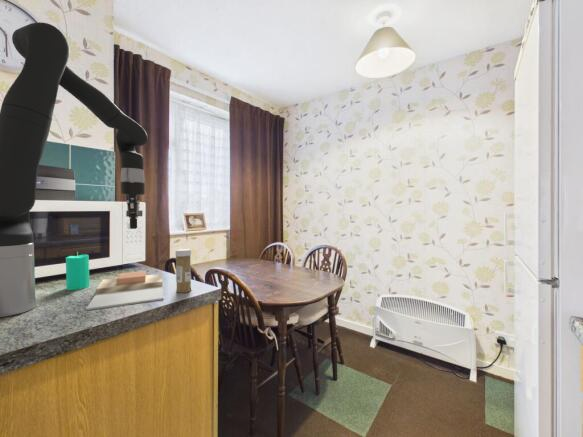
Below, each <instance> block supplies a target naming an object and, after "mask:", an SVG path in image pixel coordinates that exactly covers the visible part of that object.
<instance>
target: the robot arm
mask: <svg viewBox="0 0 583 437" xmlns="http://www.w3.org/2000/svg"><path fill="white" fill-rule="evenodd" d="M11 41H12V44H13V46H14V48H15V49H16V50H15V51H16V52H17V53H18V54H19V55H20V56H21V57H22V58H24V63H23V67H22V70H21V71H20V73H19V74H18V75H17V77H16V79H15V80H14V81H13V83H12V84H11V86H10V87H9V88H8V90H7V91H6V93H5V96H4V98H3V100H2V103H1V106H0V107H1V108H0V318H4V317H10V316H14V315H19V314H22V313H25V312H28V311H31V310H32V309H34V308H35V307H36V273H35V272H36V271H35V244H34V240H35V239H34V238H35V237H34V232H33V230H32V226H31V217H30V216H31V215H30V211H31V210H32V209H33V207H34V206H35V202H36V198H37V197H36V195H37V194H36V193H37V180H38V172H39V171H38V170H39V165H40V162H41V159H42V156H43V154H44V151H45V148H46V144H47V141H48V138H49V134H50V130H51V125H52V120H53V114H54V110H55V106H56V105H55V104H56V101H57V97H58V93H59V92H58V91H59V86H60V87H61V88H63V89H64V90H65V91H66V92H68V93H69V94H70V95H72V96H73V97H74V98H76V99H77V101H78V102H80V103H82V105H84V106H85V107H86V108H87V109H88V110H89V111H90V112H91V113H92V114H93V115H94V116H96V117H97V119H99V120H100V121H101V123H103V124H104V125H105V126H106V127H108V128H111V129H116V130H117V131H116V134H115V139H116V140H115V141H116V146H117V148H118V151H119V154H120V158H121V160H120V168H121V170H120V193H121V194H122V195H126V196H128V199H126V205H127V212H128V219H129V228H130V229H131V230H134V229H135V230H137V229H138V218H139V212H140V199H138V196H143V195H145V194H146V190H145V188H146V186H145V183H146V182H145V181H146V180H145V172H144V166H145V165H144V156H143V155H142V154H141V153H138V152H137V150H136V147H142V146H144V145H146V144H147V142H148V139H149V136H148V134H147V131H146V130H145V129H144V128H143V127H142V125H140V124H139V123H138V122H137V121H135V120H134V119H133V118H131V117H130V116H128V115H126V114H125V113H124V112H123V111H122V110H121V109H120V108H119V107H118V106H117V105H116V104H115V103H114V102H113V100H111V99H110V97H108V96H107V95H106V93H104V92H102V91H101V90H99V89H98V88H96V87H95V86H94V85H92V84H90V83H89V82H87V81H86V80H84V79H83V78H82V77H80V76H79V75H78V74H76V73H75V72H74V71H73V70H72V69H70V68H69V66H67V64H68V62H69V59H70V56H71V48H70V44H69V41H68V40H67V37H66V36H65V34H63V32H62V31H61V30H60V29H59V28H57V26H54V24H53V25H52V24H50V23H48V22H41V21H39V22H32V23H29V24H27V25H24V26H22V27H19V28H17V29H16V30H14V31H13V33H12V37H11Z"/></svg>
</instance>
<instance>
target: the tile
mask: <svg viewBox="0 0 583 437" xmlns="http://www.w3.org/2000/svg"><path fill="white" fill-rule="evenodd" d="M146 275H147V270H142V271H133V272H132V271H131V272H122V273H119V274H118V276H117V277H116V278H117V285H123V284H132V283H141V282H145V281H146Z"/></svg>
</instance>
